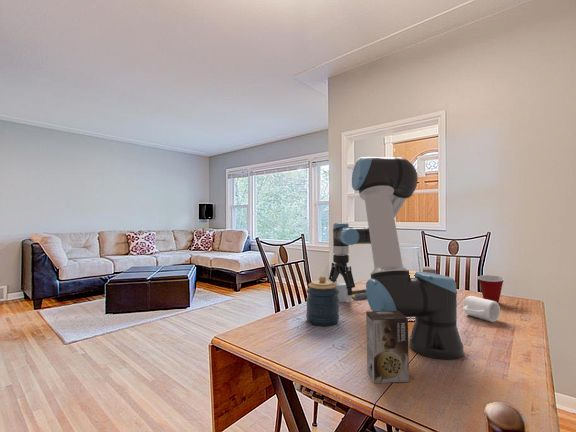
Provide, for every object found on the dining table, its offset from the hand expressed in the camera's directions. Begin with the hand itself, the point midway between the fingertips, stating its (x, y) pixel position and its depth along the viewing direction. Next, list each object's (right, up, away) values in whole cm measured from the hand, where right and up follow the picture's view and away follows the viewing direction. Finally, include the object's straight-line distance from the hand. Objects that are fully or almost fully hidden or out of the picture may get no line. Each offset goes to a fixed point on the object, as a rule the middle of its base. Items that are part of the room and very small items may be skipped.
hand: (341, 298), depth 148 cm
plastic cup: (+70, -1, -4) cm, 70 cm away
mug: (+50, -1, -27) cm, 57 cm away
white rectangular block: (0, -1, 0) cm, 1 cm away
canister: (-12, -1, -28) cm, 30 cm away
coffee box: (0, -2, -70) cm, 69 cm away
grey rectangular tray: (+13, -1, +8) cm, 15 cm away
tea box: (+40, -1, +7) cm, 41 cm away
